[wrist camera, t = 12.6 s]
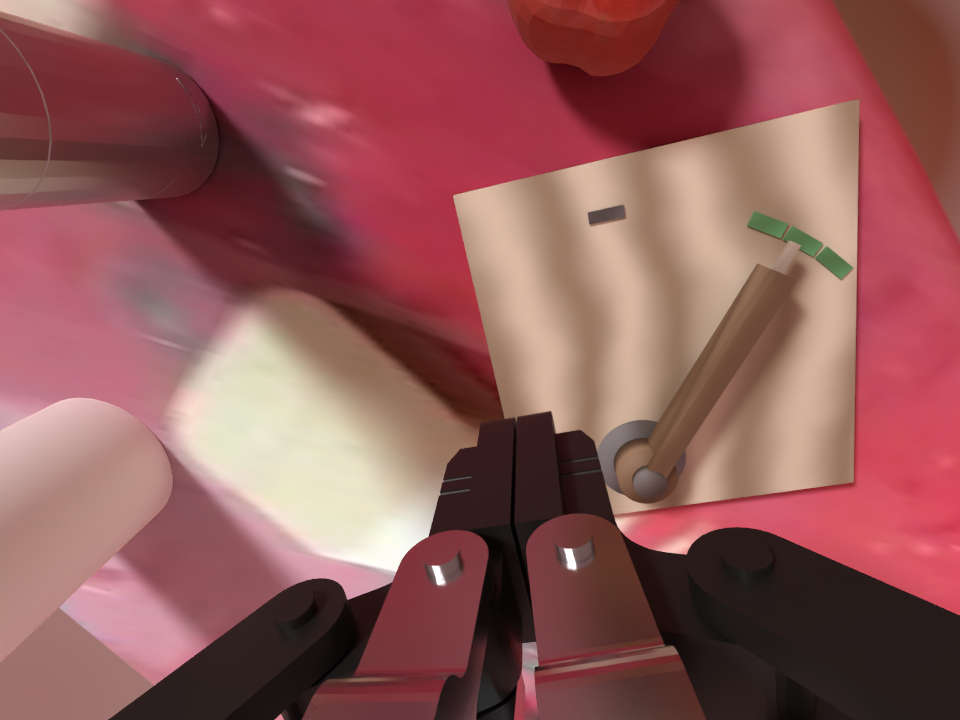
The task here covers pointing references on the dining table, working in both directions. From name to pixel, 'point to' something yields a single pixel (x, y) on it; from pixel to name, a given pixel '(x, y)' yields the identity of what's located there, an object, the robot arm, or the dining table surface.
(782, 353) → the dial board
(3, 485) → the canister
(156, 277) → the dining table surface
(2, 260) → the dining table surface
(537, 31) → the vegetable
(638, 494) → the dial lever
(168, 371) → the dining table surface
